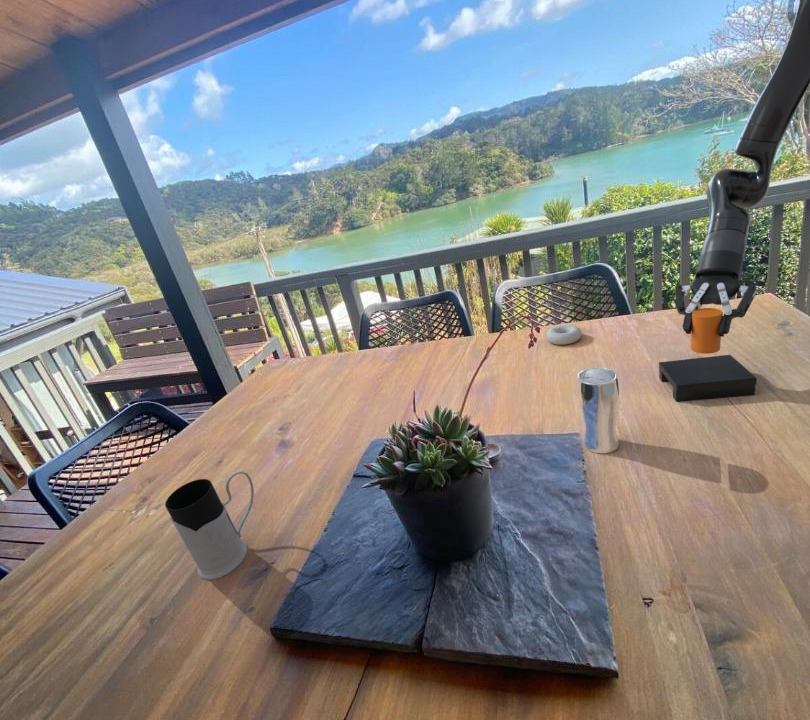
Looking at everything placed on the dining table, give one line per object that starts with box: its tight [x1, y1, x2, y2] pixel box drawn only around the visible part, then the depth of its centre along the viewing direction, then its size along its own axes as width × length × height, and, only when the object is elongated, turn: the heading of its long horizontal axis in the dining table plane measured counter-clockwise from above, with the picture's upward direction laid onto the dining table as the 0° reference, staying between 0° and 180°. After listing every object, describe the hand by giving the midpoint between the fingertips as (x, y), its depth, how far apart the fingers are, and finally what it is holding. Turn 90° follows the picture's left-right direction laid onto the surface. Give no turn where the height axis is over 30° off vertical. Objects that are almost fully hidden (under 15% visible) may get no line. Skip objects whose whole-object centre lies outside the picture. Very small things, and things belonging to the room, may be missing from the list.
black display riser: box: [658, 354, 758, 403], centre depth 92 cm, size 14×11×4 cm
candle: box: [690, 307, 724, 355], centre depth 88 cm, size 5×5×8 cm
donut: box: [545, 324, 582, 346], centre depth 129 cm, size 10×4×10 cm
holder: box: [164, 470, 255, 581], centre depth 77 cm, size 9×14×15 cm, turn 134°
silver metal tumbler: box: [577, 366, 621, 455], centre depth 81 cm, size 7×7×15 cm
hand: (704, 333), depth 87 cm, fingers closed on candle, 5 cm apart
